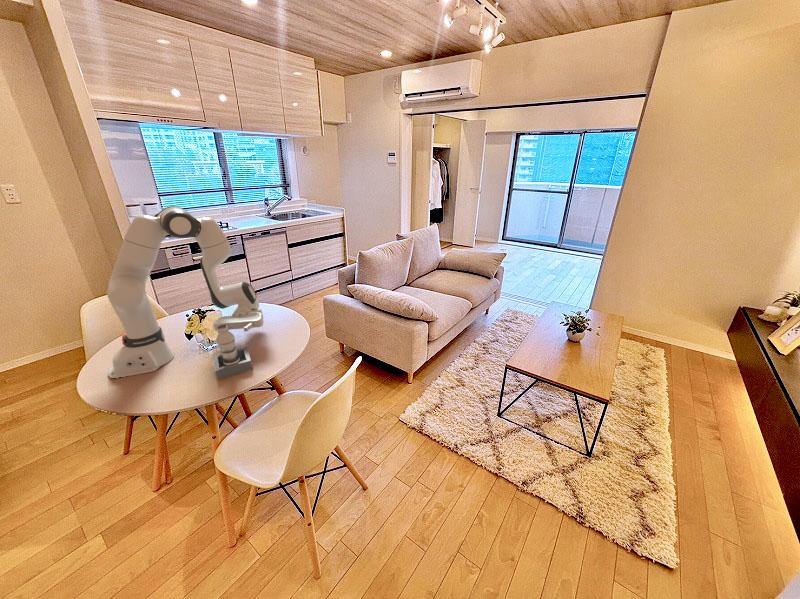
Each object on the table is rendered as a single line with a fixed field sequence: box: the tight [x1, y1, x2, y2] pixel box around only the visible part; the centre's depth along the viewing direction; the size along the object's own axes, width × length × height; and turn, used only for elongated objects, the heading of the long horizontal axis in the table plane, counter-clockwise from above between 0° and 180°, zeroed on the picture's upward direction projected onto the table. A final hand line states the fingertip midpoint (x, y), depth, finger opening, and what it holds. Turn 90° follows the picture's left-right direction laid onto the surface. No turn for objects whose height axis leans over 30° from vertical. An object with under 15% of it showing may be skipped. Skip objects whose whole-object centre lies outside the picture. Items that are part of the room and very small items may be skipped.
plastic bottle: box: [215, 325, 242, 366], centre depth 128 cm, size 6×7×20 cm
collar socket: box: [212, 346, 254, 381], centre depth 133 cm, size 13×12×4 cm
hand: (234, 331), depth 136 cm, fingers open, 8 cm apart
